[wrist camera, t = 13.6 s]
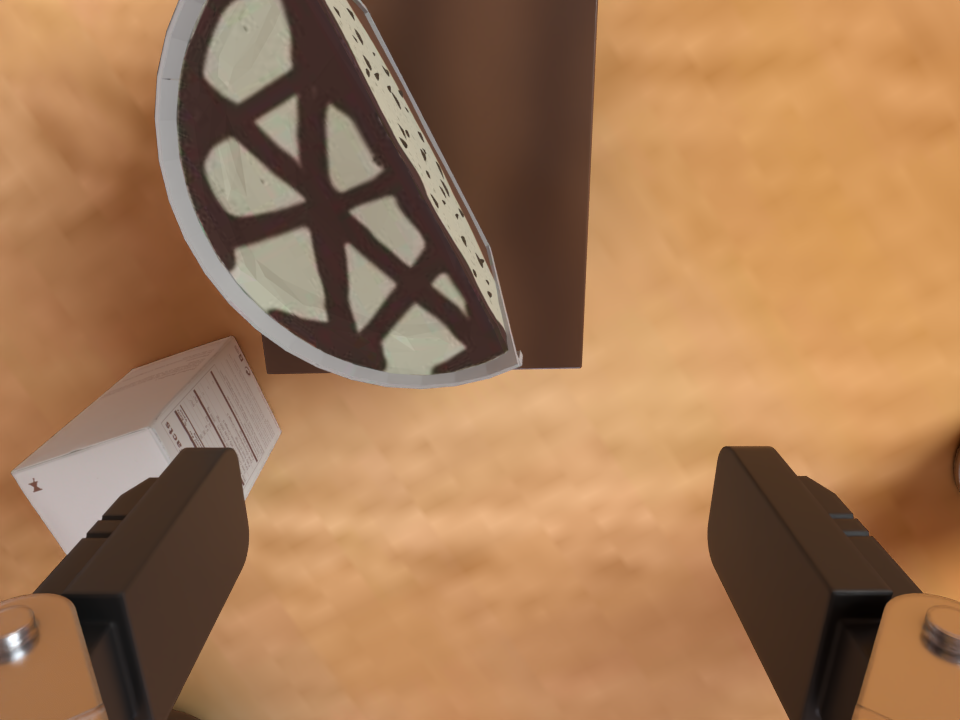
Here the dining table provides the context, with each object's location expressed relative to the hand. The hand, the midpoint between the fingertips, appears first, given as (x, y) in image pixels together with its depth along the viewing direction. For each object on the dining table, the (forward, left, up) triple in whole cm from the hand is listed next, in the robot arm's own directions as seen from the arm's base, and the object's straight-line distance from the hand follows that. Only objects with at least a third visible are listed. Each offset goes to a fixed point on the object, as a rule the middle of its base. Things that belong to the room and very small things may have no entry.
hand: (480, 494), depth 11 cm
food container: (+4, -4, -16) cm, 17 cm away
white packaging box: (+17, +12, -30) cm, 37 cm away
